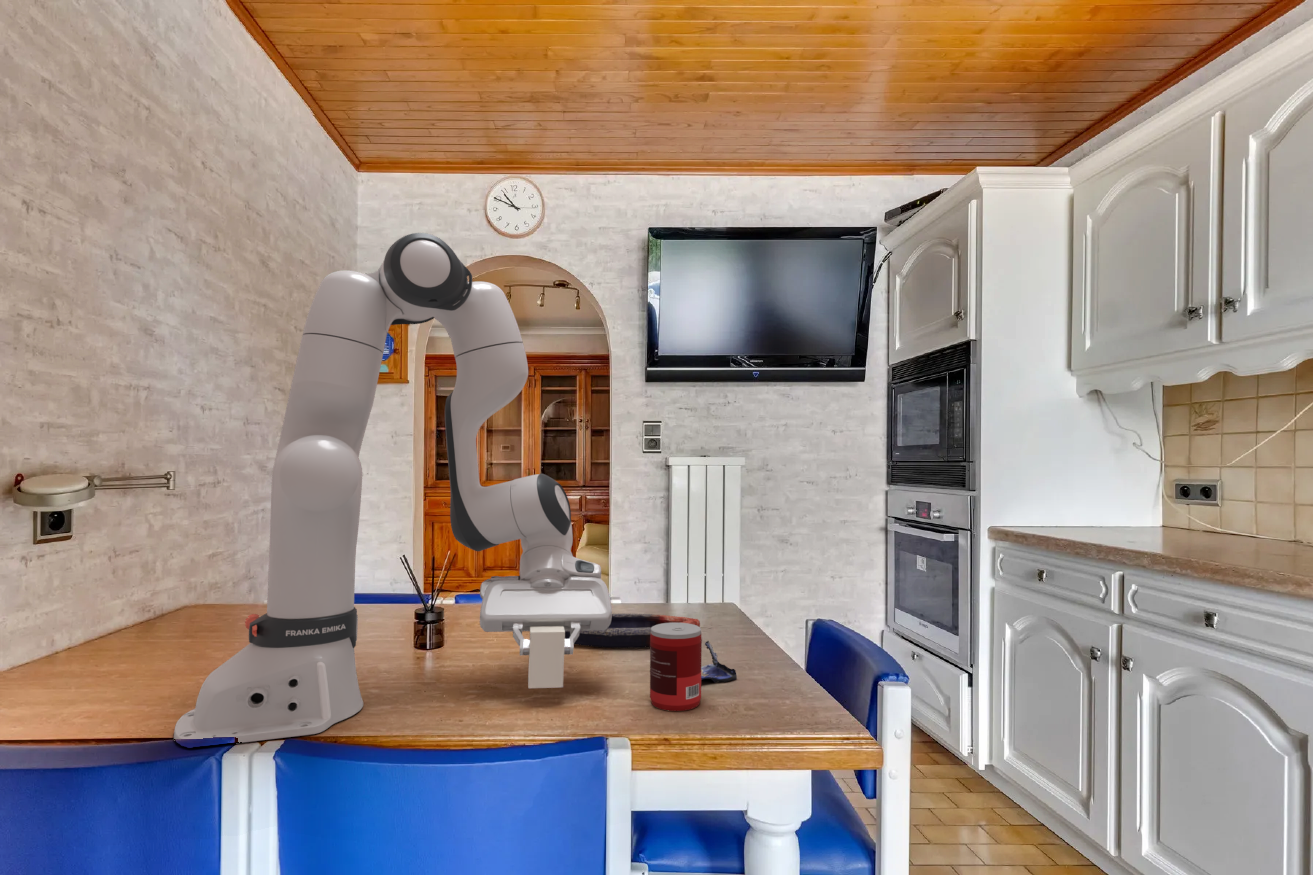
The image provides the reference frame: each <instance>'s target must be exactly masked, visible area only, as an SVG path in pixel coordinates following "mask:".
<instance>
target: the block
mask: <svg viewBox="0 0 1313 875" xmlns="http://www.w3.org/2000/svg"><path fill="white" fill-rule="evenodd" d="M529 640H530V653H529V655H528V673H527V674H528V675H527V676H528V677H527V683H528V684H527V686H528V689H547V688H549V689H550V688H551V689H553V688H564V671H565V668H564V666H565V655H564V645H565V630H564V627H563V626H530V631H529Z"/></svg>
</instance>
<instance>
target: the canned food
mask: <svg viewBox="0 0 1313 875" xmlns="http://www.w3.org/2000/svg"><path fill="white" fill-rule="evenodd" d="M702 638H703V637H702V627H701V626H700V627H699V626H697V625H693V624H689V623H662V624H658V625H655V626H653V627H651V632H650V647H649V697H650V702H651V704H652V705H653V706H654V707H655V708H656V707H657V708H656V709H659V710H661V711H662V710H663V711H666V710H669V711H668V712H684V711H690V710H693V709H695V708H697V707H698V706H699V705H700V703H701V699H702V680H701V676H702V671H701V666H702V652H703V651H702V648H703V647H702V641H703V640H702Z"/></svg>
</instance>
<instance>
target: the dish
mask: <svg viewBox="0 0 1313 875" xmlns="http://www.w3.org/2000/svg"><path fill="white" fill-rule="evenodd" d="M662 623H689V624H693V625H697V626H699V627H700V628H701V622H700V620H699V619H698V618H693V617H686V616H678V615H677V616H675V615H674V616H673V615H667V614H665V615H664V614H653V613H612V620H611V624H610V625H609V627H608V628H607V629H606V630H582V631H580V633H579V637H578V638H577V640H576V641H575V643H574V645H577V646H582V647H583V646H584V647H591V648H594V647H595V648H606V649H607V648H608V649H609V648H610V649H611V648H612V649H614V648H615V649H621V648H622V649H636V648H637V649H640V648H641V649H642V648H650V632H651V627H653V626H655V625H658V624H662ZM570 636H571V635H570V631H565V639H569V638H570Z"/></svg>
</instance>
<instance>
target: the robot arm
mask: <svg viewBox="0 0 1313 875" xmlns="http://www.w3.org/2000/svg"><path fill="white" fill-rule="evenodd" d="M383 259H384V260H383V262H382V263H381V265H380V266H379V268H378V269H377V270H375V271H373V272H371V273H369V272H368V273H366V272H365V273H362V272H360V271H356V270H352V269H351V270H349V269H347V270H336V271H333V272H331V273H329V274H327V275H326V276H325V277H324V278H323V279H322V280H321V282H320V284H319V286H318V289H317V290H316V292H315V295H314V297H313V300H312V302H311V305H310V307H309V310H308V313H307V316H306V320H305V324H304V328H303V331H302V335H301V340H300V343H299V349H298V354H297V358H296V363H295V365H294V366H295V367H294V372H293V375H292V379H291V385H290V389H289V394H288V399H287V404H286V408H285V413H284V416H283V423H282V427H281V431H280V436H279V440H278V446H277V449H276V453H275V458H274V463H273V468H272V470H271V471H272V472H271V473H272V474H271V493H270V496H271V498H270V523H269V547H268V548H269V549H268V550H269V551H268V572H267V573H268V579H267V602H266V604H267V605H266V613H264V614H263V615H259V614H258V613H257V614H256V613H252V614H249V615H248V616H247V618H245V621H244V623H245V625H244V626H245V628H246V629H247V630H248V643H249V644H246V646H244V647H243V648H242V649H241V650H239V651H238V652H237V653H236V654H234V655H232V656H231V657H230V658H229V659H227V660H226V661H225V662H223V663H222V664H221V665H219V666H218V667H217V668H215V669H214V670H213V671H211V672H210V673H209V674H208V675H207V676H206V678H205V680H204V682H203V683H202V685H201V687H200V690H199V693H198V695H197V699H196V703H195V708H193V709H191V710H189V711H187V712H186V713H184V714H182V715H181V717H180V718H178V720H177V721H176V724H175V727H174V731H173V740H174V739H203V738H213V737H236V738H238V742H239V743H238V744H240V742H242V743H249V742H250V743H251V742H257V741H265V740H266V741H267V740H275V739H283V738H291V737H300V736H309V735H315V734H319V733H322V732H324V731H325V730H327V729H328V728H330V727H331V726H332V725H334V724H337V723H338V722H342V721H343V720H346V719H348V718H350V717H353V716H354V715H355V714H357V713H358V712H360V711H361V710H362V709H363V707H364V701H363V698H362V695H361V691H360V686H359V681H358V676H357V675H358V674H357V667H356V655H355V653H356V652H355V648H356V646H357V641H358V630H359V629H358V625H359V624H358V622H359V618H358V617H359V616H358V609H357V608H356V607H355V589H356V588H355V583H356V557H357V556H356V554H357V544H358V534H359V526H360V517H361V516H360V515H361V513H360V512H361V502H362V490H363V489H362V487H363V485H362V484H363V467H362V463H361V460H360V458H359V457H360V452H361V448H362V445H363V441H364V436H365V434H366V429H367V426H368V422H369V419H370V415H371V411H372V410H373V405H374V400H375V398H376V397H375V395H376V391H377V386H378V381H379V377H380V376H379V375H380V371H381V367H382V362H383V357H384V351H385V347H386V341H387V337H388V334H389V333H388V332H389V329H390V327H391V326H393V325H396V326H397V325H418V324H420V325H421V324H424V323H427V322H429V321H432V320H436V321H437V322H439V323H440V325H442V327H443V328H444V329H445V331H446V333H447V335H448V337H449V339H450V342H451V346H452V350H453V351H452V352H453V356H454V359H455V363H456V380H455V383H454V384H455V385H454V388H453V391H451V393H450V394H449V395H447V397H446V399H445V403H444V404H445V405H444V428H445V438H446V439H445V440H446V456H447V464H448V477H449V487H450V488H449V489H450V501H449V502H450V503H449V504H450V505H449V511H450V512H449V514H450V515H449V517H450V518H449V519H450V521H449V522H450V526H451V532H452V534H453V537H454V539H455V540H456V541H457V542H459V543H460V544H461V545H462V546H465V548H469V549H470V550H472V551H476V552H482V551H484V550H487V549H490V548H493V547H496V546H499V545H500V544H504V543H509V542H513V541H516V540H520V545H521V549H522V553H521V555H520V560H519V575H508V576H507V575H506V576H498V575H496V576H495V575H494V576H491V577H490V578H487V579H485V580H484V581H482V582H481V584H480V588H479V597H480V598H481V599H482V601H481V605H480V611H479V627H480V628H481V629H482V630H483V632H486V633H497V632H499V633H501V632H503V633H506V632H507V633H508V632H512V638H513V639H514V641H515V642H516V644H517V645H518V647H519V656H529V653H530V639H525V638H524V636H523V632H530V626H563V627H564V630H565V631H570V635H571V636H570V638H569V639H565V645H564V656H566V655H567V656H569V655H574V650H575V649H574V645H575V644H574V643H575V641H576V640H577V638H578V637H579V633H580V631H582V630H606V629H607V628H608V627H609V625H610V624H611V620H612V614H613V607H612V600H611V598H610V597H611V596H610V592H609V588H608V586H607V584H606V582H605V581H604V580H603V579H602V567H601V565H600V564H598V563H596V562H593V561H592V562H591V561H587V560H584V559H581V558H578V557H575V556H573V552H572V551H571V550H572V546H573V542H574V541H573V540H574V538H573V537H574V536H573V534H574V533H573V526H572V513H571V512H572V511H571V506H570V501H569V497H568V495H567V493H566V491H565V489H564V487H563V485H561V483H559V482H558V481H556V479H554V478H552V477H550V476H549V475H547V474H544V473H539V474H537V473H536V474H531V475H527V476H523V477H519V478H515V479H513V480H509V481H505V482H500V483H496V484H493V485H492V484H491V485H489V486H482V485H481V483H480V474H479V464H478V462H479V461H478V450H477V437H478V436H477V435H478V432H479V430H480V428H481V427H482V426H483V424H484V423H485V422H486V421H487V420H488V419H489V418H491V416H492V417H493V415H494V414H495V413H497V412H499V411H500V410H501V409H503V408H505V407H506V406H507V405H509V404H510V403H511V402H513V400H515V399H516V398H517V396H518V395H519V394H520V393H521V392H522V390H523V389H524V387H525V384H526V383H527V381H528V377H529V366H528V359H527V353H526V349H525V345H524V342H523V338H522V334H521V331H520V328H519V325H518V322H517V320H516V319H517V318H516V317H515V314H514V311H513V310H512V309H513V308H512V307H511V304H510V302H509V301H508V298H507V296H506V294H505V293H504V291H503V289H501V288H500V287H499V286H498V285H497V284H494V283H491V282H487V281H483V280H482V281H473V274H472V273H471V270H469V269H468V267H466V266H465V265H464V263H463V262H462V260H460V259H459V257H458V256H457V254H456V253H455V251H454V250H453V249H452V248H451V246H450V245H449V244H448V243H446V242H445V241H444V240H443V239H441V238H440V237H438V236H436V235H433V234H431V233H427V232H414V233H413V232H412V233H410V234H406V235H403V236H402V237H400V238H399V239H397V240H396V241H395V242H394V243H393V244H392V245H390V246H389V248H388V250H386V254H385V255H384V258H383Z"/></svg>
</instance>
